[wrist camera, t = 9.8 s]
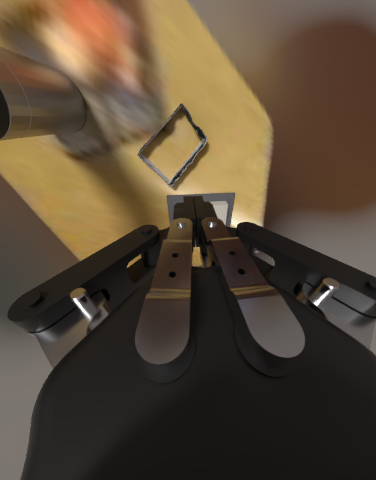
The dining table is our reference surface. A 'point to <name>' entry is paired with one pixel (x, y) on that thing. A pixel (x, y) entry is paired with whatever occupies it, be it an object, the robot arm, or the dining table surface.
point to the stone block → (220, 210)
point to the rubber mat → (207, 198)
